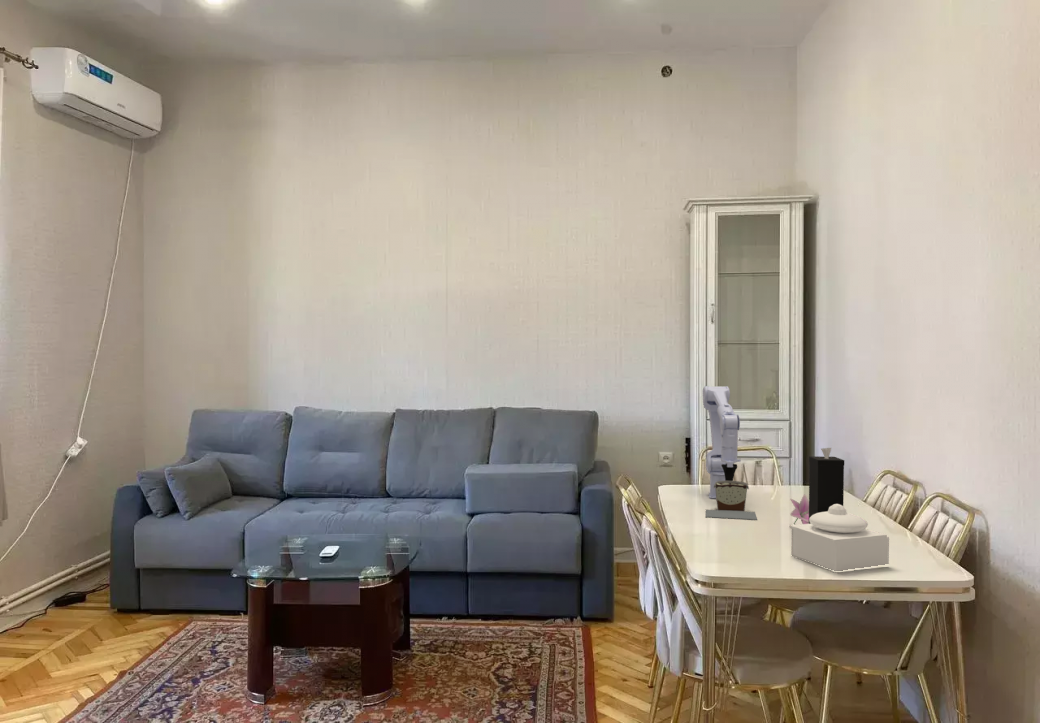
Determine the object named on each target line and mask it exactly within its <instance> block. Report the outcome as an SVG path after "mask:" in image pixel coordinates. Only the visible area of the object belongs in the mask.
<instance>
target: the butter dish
mask: <svg viewBox="0 0 1040 723" xmlns="http://www.w3.org/2000/svg"><path fill="white" fill-rule="evenodd" d="M809 521H810V523H811V524H802V523H801V524H800V523H799V524H794V525H793V524H790V525H789V529H791V550H790V551H791V554H790V555H792V556H794V557H793V558H795V557H797V558H796V559H798V558H800V559H803V560H806V561H809V562H812V563H815V564H817V565H820V566H823V567H825V568H828V569H831V570H834V571H843V570H848V569H855V568H864V567H871V566H878V565H885V564H889V565H890V537H889V536H888V534H886V533H881V532H878V531H874V530H872V529H867V527H868V525H869V523H868V522H867V520H866V519H864V518H863V517H862V516H860V515H857V514H854V513H851V512H847V509H846V507H845V506H844V505H843V506H842V505H840V504H833V505H832V506H830V507H829V509H828V511H827V512H820V513H816V514H814V515H812V516H811V517H810V518H809ZM792 556H791V557H792ZM800 559H799V560H800ZM803 560H802V561H803Z"/></svg>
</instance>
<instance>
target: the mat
mask: <svg viewBox="0 0 1040 723" xmlns="http://www.w3.org/2000/svg"><path fill="white" fill-rule="evenodd" d="M705 510H706V511H705V518H707V517H712V519H726V518H728V520H745V521H746V520H748V521H758V517H757V514H756V512H755V511H746V510H745V511H726V510H717V509H705Z"/></svg>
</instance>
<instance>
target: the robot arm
mask: <svg viewBox="0 0 1040 723" xmlns="http://www.w3.org/2000/svg"><path fill="white" fill-rule="evenodd" d="M730 391H731V390H730V388H729V386H728V385H725V386H723V385H722V386H720V385H718V386H716V385H715V386H712V385H711V386H710V385H708V386H707V385H704V386H703V389H702V405H703V408H704V409H705V410H707V411H708V415H709V423H710V424H709V425H710V434H711V435H710V436H711V446H712V447H711V448H712V449H711V450H710V451H709V452H707V454H706V457H705V468H706V472H707V474H709V492H708V498H709V499H716V489H715V488H714V484H715V482H717V481H734V477H735V473H736V471H737V469H738V464H736V463H738V462H739V463H741V459H740V458H738V446H739V445H738V434H739V432H738V431H739V430H740V428H741V427H740V426H741V418H740V416H739V414H736V413H735V411H734V408H733V407H732V405H731V404H729V401H730V398H731V392H730Z"/></svg>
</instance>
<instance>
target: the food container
mask: <svg viewBox="0 0 1040 723" xmlns="http://www.w3.org/2000/svg"><path fill="white" fill-rule="evenodd" d="M714 488H715V489H716V498H715V499H716V508H717V509H716V510H726V511H745V512H746V510H745V509H746V502H747V495H748V494H747V492H748V490H750V488H749V484H748V482H744V481H739V480H733V481H717V482H715V484H714Z"/></svg>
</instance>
